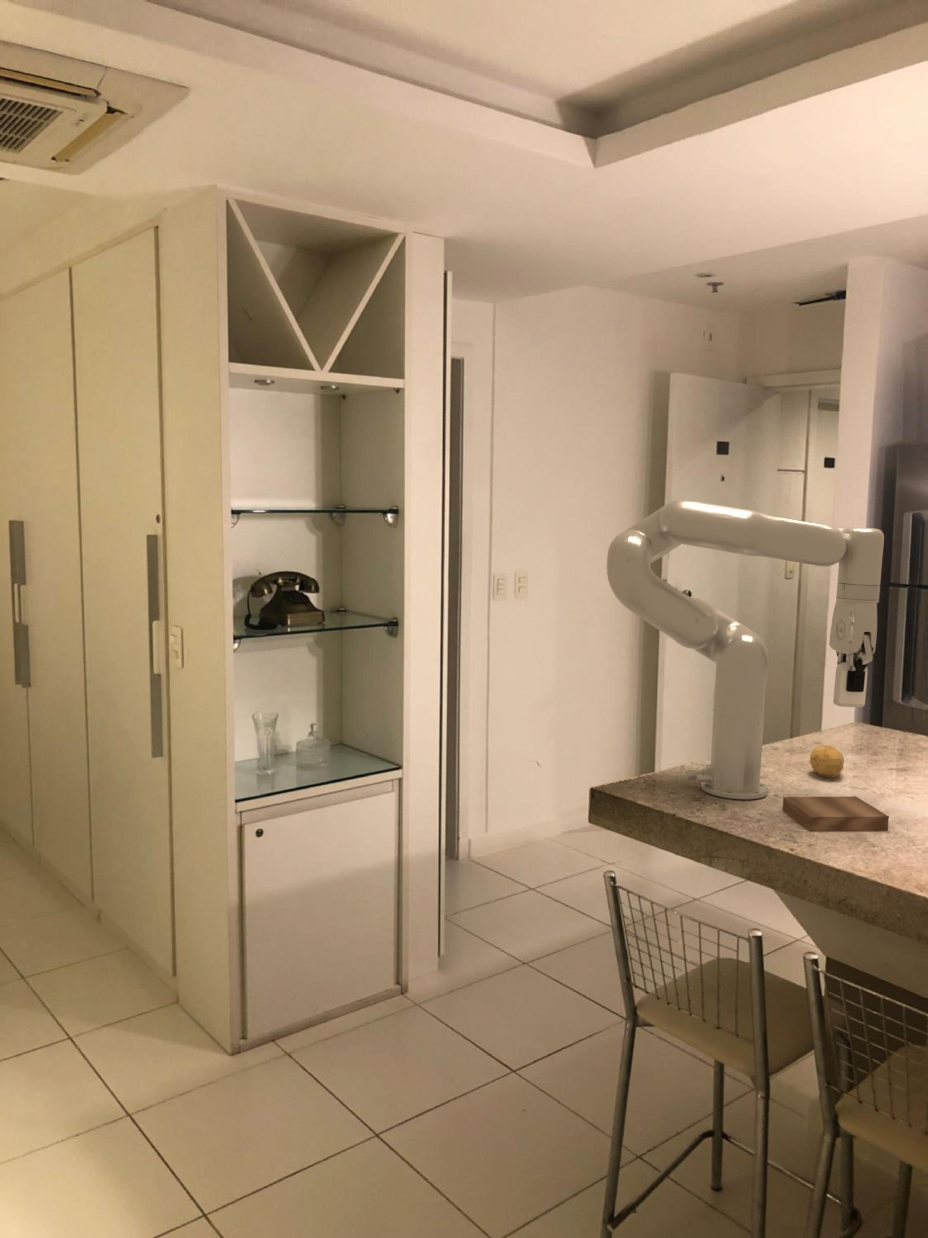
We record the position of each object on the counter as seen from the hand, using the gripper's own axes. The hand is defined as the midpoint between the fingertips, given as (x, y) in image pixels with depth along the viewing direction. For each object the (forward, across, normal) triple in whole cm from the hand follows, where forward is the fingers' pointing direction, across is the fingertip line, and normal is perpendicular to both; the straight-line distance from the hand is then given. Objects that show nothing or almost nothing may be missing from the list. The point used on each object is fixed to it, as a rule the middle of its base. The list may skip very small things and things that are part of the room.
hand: (849, 688), depth 194 cm
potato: (+22, -17, +5) cm, 28 cm away
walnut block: (+22, +13, -7) cm, 27 cm away
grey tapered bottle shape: (+3, 0, 0) cm, 3 cm away
